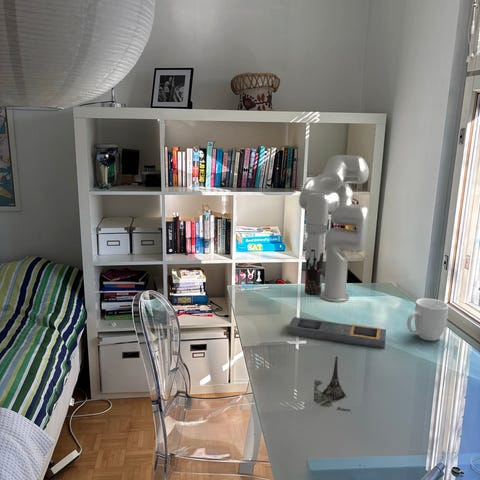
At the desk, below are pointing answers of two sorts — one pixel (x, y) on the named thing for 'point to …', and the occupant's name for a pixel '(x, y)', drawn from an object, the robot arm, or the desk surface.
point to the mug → (429, 318)
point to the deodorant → (312, 285)
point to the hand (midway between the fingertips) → (313, 276)
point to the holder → (338, 332)
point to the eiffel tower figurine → (330, 391)
